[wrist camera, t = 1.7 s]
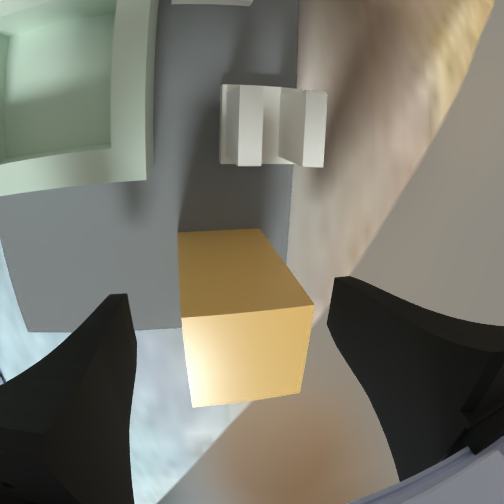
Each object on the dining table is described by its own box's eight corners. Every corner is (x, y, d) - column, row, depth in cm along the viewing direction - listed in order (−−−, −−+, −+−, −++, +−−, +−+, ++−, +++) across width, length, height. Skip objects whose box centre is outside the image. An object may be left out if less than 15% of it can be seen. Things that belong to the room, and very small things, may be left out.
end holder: (-1, 182, 10) (-41, 203, 7) (1, 25, 7) (-37, 10, 5) (154, 164, 12) (146, 179, 9) (159, -6, 9) (155, -41, 6)
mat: (31, 325, 14) (28, 332, 13) (11, -31, 6) (6, -35, 6) (277, 311, 16) (281, 318, 16) (293, -53, 9) (298, -59, 9)
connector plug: (182, 304, 14) (192, 407, 9) (177, 232, 13) (181, 317, 8) (256, 298, 15) (299, 392, 10) (259, 228, 14) (314, 304, 8)
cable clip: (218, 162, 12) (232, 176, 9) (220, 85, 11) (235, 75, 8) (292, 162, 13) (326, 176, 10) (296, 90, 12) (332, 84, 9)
